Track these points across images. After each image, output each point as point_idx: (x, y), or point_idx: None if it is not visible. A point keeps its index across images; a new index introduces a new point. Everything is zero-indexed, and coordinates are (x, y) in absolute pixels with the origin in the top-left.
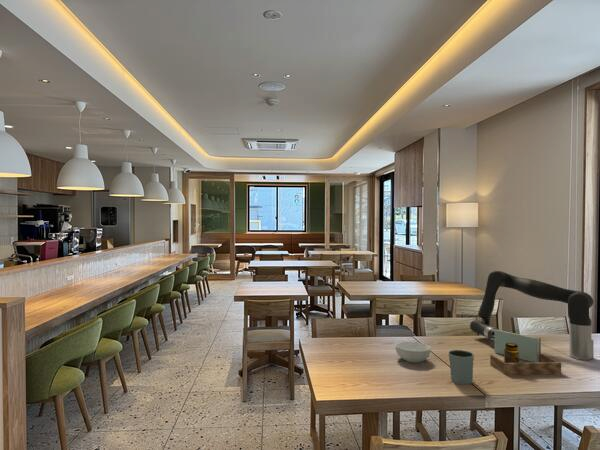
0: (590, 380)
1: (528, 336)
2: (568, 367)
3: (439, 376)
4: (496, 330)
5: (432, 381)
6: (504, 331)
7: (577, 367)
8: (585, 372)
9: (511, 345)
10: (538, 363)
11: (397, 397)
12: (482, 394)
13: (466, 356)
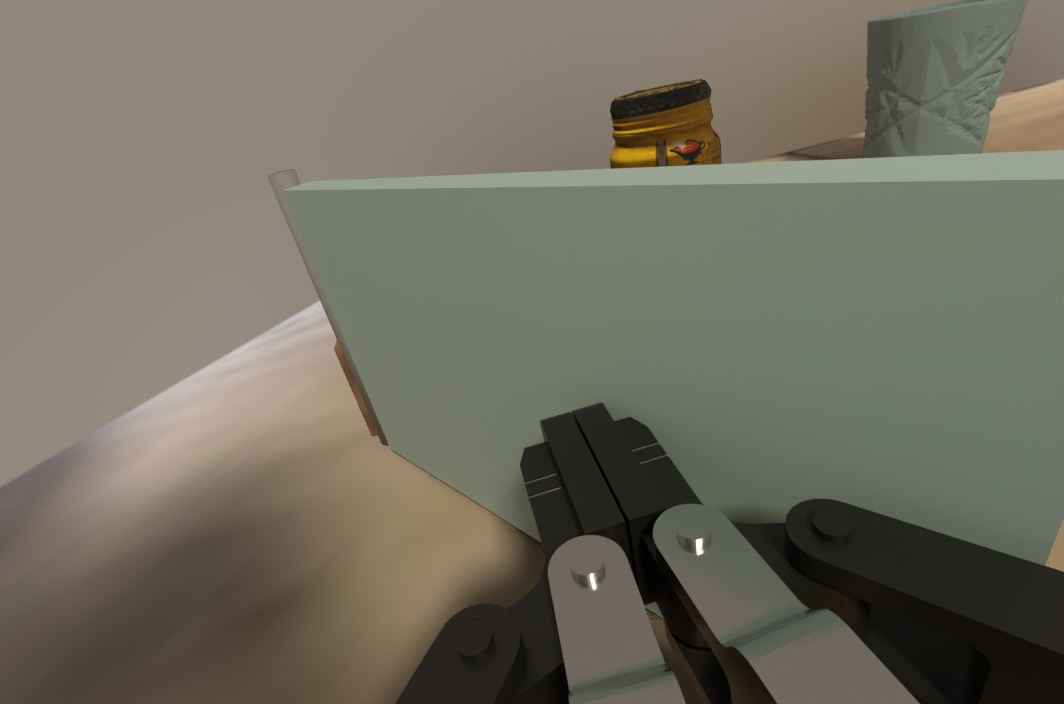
0: (300, 318)
1: (351, 183)
2: (212, 435)
3: (1059, 146)
4: (1033, 163)
5: (1043, 128)
6: (701, 176)
7: (136, 454)
8: (198, 391)
9: (663, 86)
10: None
11: (1050, 83)
12: (796, 151)
13: (926, 43)
